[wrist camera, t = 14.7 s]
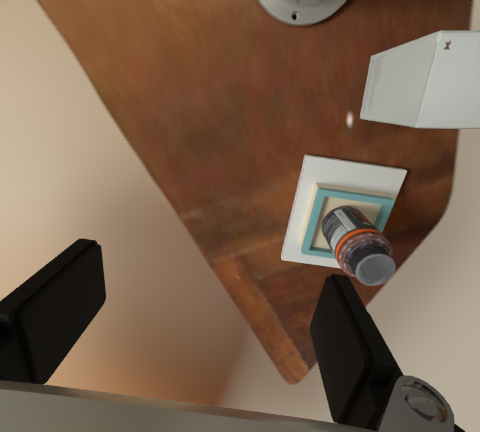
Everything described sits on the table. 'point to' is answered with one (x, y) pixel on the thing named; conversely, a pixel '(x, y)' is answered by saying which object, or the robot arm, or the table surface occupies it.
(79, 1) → the table surface
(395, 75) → the supplement box
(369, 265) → the supplement bottle
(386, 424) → the robot arm
